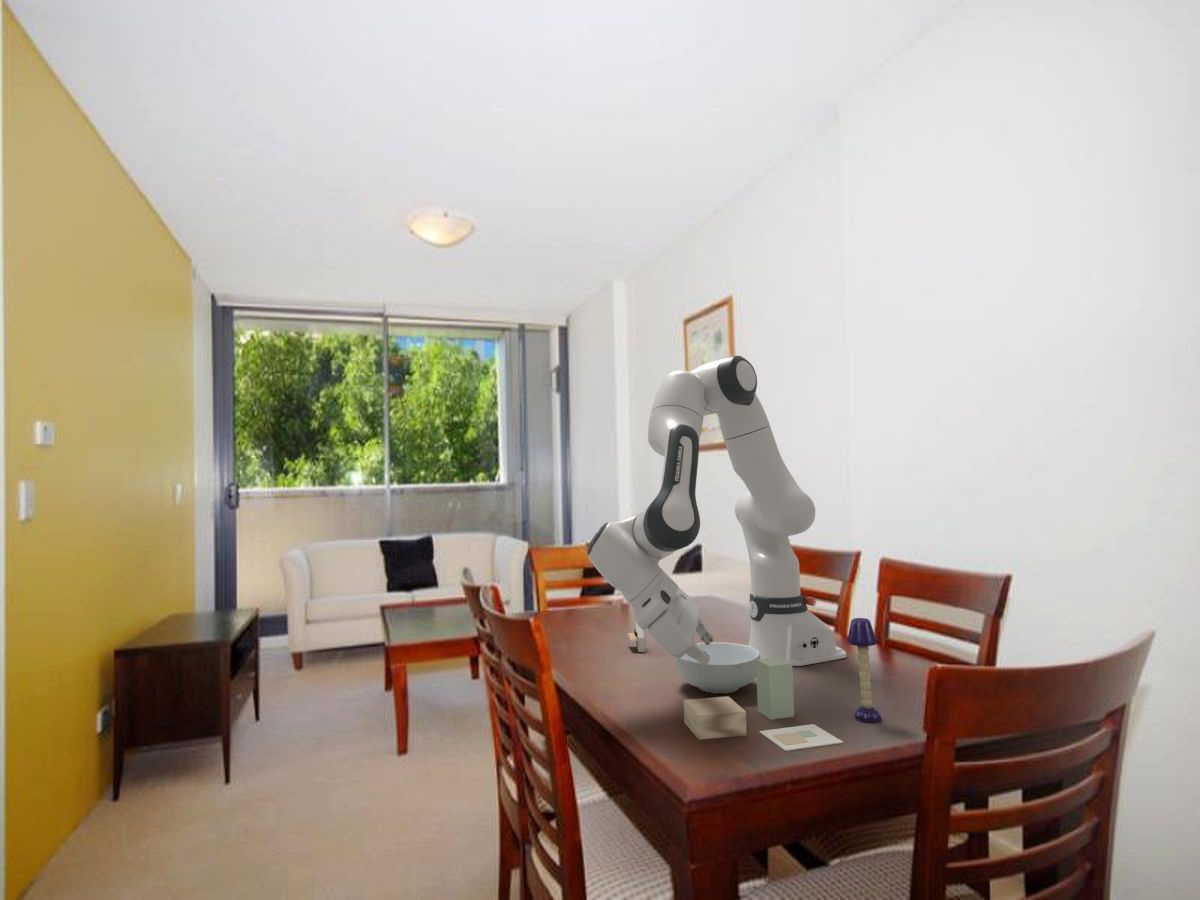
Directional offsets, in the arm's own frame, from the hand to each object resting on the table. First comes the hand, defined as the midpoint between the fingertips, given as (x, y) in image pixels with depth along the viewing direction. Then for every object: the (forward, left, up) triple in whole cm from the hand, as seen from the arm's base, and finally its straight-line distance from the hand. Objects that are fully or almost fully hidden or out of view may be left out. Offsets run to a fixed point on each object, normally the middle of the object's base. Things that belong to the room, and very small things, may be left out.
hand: (709, 651), depth 123 cm
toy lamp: (-22, +15, -10) cm, 28 cm away
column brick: (-9, +8, -10) cm, 15 cm away
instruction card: (-7, +19, -9) cm, 22 cm away
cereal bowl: (-6, -9, -10) cm, 14 cm away
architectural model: (-1, -43, -10) cm, 44 cm away
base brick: (+4, +11, -10) cm, 16 cm away
